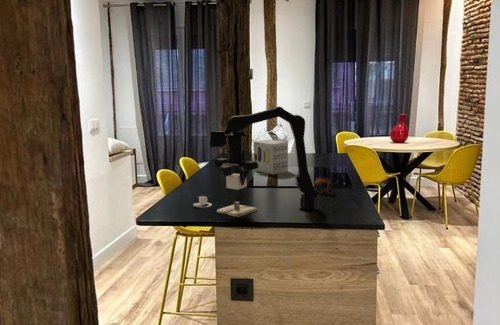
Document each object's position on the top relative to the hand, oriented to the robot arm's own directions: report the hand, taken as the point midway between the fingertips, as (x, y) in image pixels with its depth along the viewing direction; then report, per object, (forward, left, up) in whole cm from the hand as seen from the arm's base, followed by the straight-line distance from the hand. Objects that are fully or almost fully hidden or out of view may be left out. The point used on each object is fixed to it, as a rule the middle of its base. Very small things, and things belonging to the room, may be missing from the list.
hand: (236, 184), depth 192 cm
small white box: (0, 0, -1) cm, 1 cm away
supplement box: (+41, -79, -12) cm, 90 cm away
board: (0, 0, -12) cm, 12 cm away
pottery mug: (-12, -50, -12) cm, 53 cm away
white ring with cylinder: (+22, +3, -12) cm, 25 cm away
